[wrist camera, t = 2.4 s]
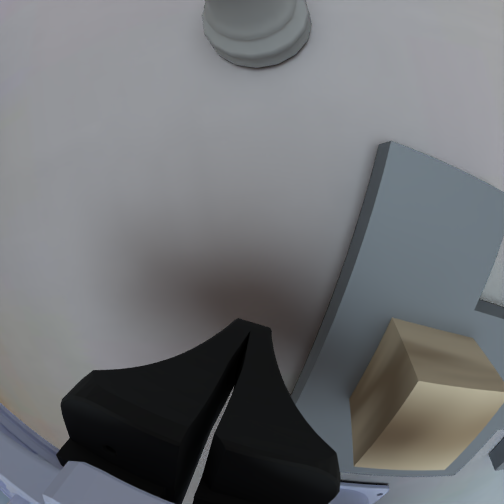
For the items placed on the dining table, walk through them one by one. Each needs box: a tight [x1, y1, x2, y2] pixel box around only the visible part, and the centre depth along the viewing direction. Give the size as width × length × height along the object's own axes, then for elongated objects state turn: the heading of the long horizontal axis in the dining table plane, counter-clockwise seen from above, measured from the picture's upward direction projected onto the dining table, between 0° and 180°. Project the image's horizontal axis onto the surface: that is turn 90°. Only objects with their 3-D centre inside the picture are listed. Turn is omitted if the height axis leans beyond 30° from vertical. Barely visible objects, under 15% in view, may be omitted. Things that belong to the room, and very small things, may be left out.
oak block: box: [349, 318, 504, 470], centre depth 9 cm, size 4×4×4 cm
